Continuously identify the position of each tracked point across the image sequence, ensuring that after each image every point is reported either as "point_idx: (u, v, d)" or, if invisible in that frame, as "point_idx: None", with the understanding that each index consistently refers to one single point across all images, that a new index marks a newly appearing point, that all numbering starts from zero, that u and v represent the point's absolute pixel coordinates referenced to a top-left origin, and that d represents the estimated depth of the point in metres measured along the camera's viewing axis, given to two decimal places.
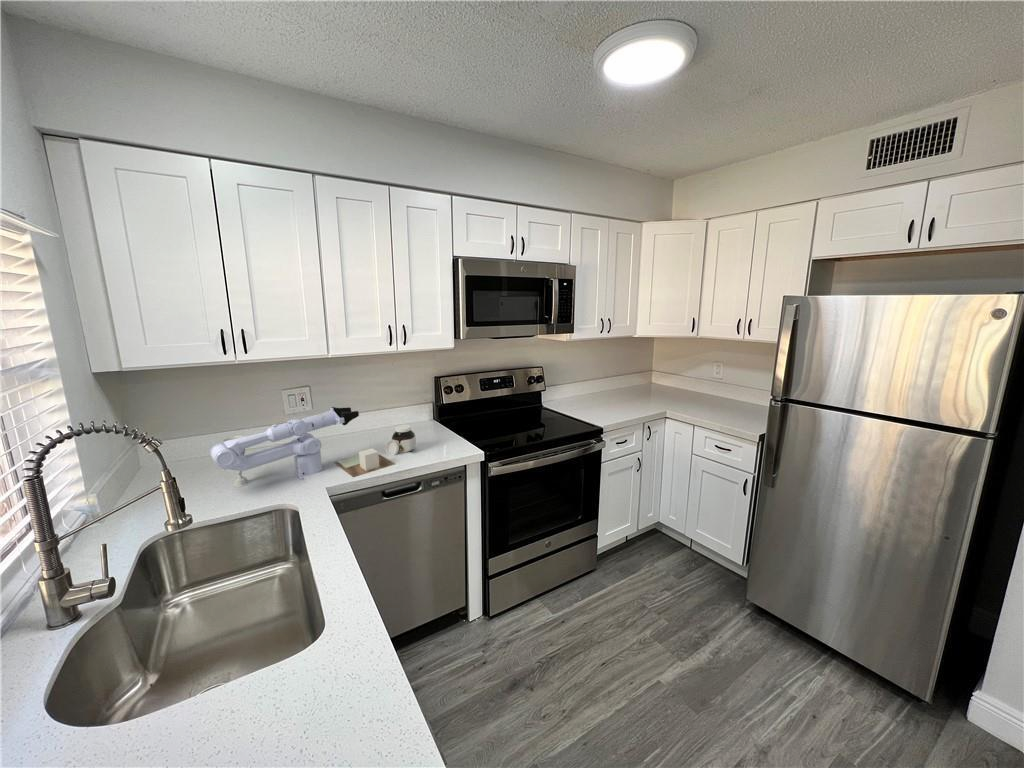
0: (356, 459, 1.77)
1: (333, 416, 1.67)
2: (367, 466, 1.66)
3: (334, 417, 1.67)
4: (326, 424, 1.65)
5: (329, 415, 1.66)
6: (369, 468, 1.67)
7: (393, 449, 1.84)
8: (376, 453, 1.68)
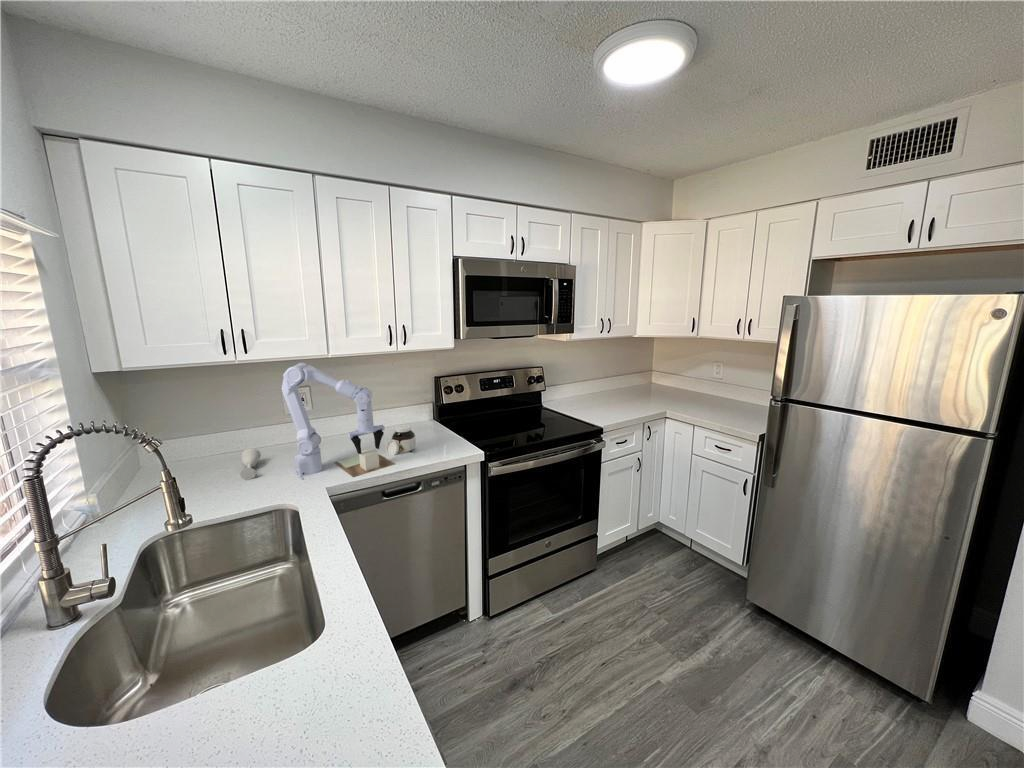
0: (356, 459, 1.77)
1: (361, 430, 1.64)
2: (367, 466, 1.66)
3: (360, 430, 1.64)
4: (358, 421, 1.65)
5: (363, 427, 1.63)
6: (369, 468, 1.67)
7: (393, 449, 1.84)
8: (376, 453, 1.68)
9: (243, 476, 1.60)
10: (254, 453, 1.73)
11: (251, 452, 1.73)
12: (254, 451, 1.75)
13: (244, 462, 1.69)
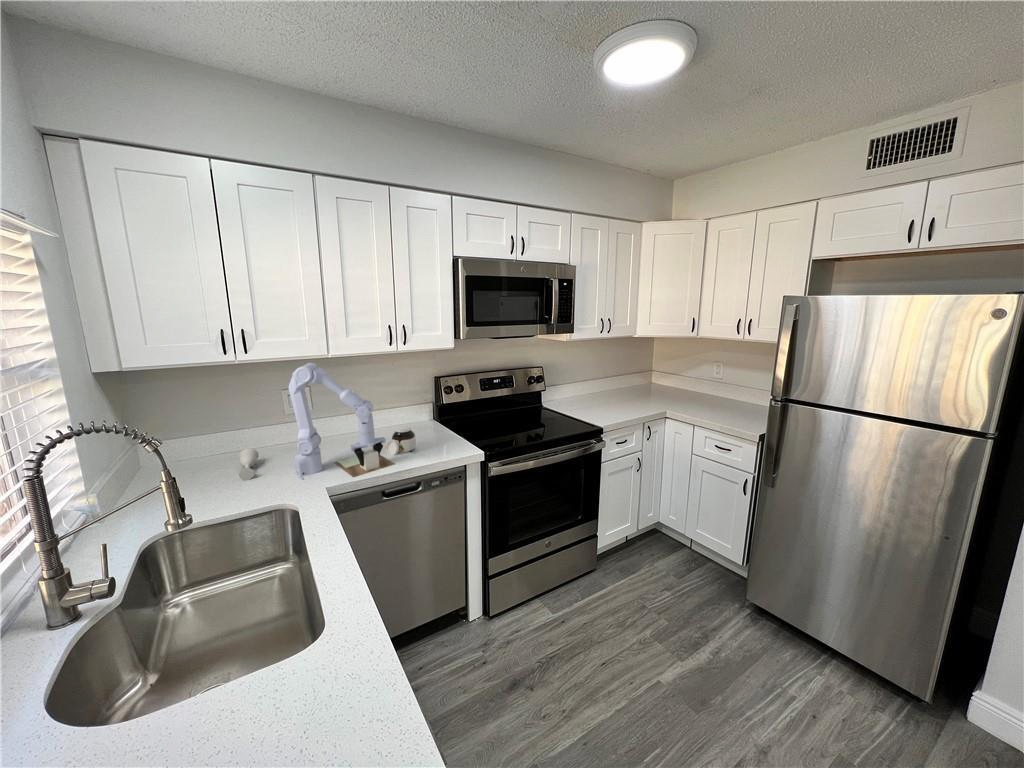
0: (356, 459, 1.77)
1: (362, 443, 1.65)
2: (367, 466, 1.66)
3: (361, 443, 1.65)
4: (359, 434, 1.66)
5: (364, 440, 1.64)
6: (369, 468, 1.67)
7: (393, 449, 1.84)
8: (376, 453, 1.68)
9: (242, 477, 1.60)
10: (250, 453, 1.72)
11: (247, 452, 1.72)
12: (251, 451, 1.74)
13: (242, 463, 1.68)
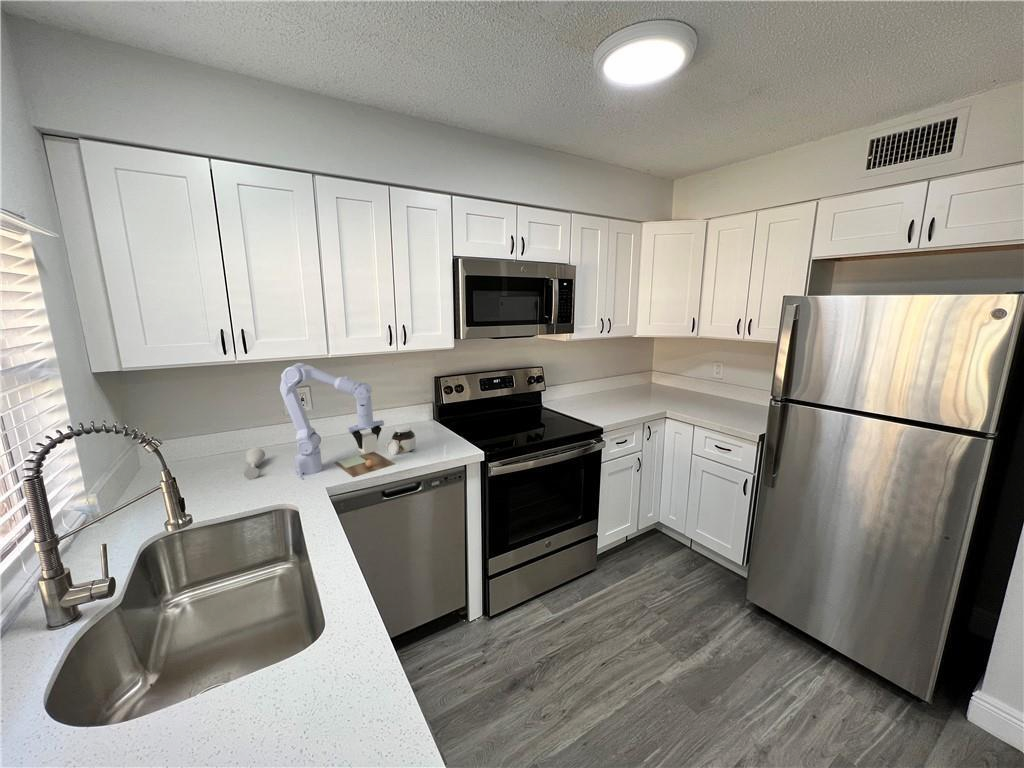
0: (356, 459, 1.77)
1: (360, 425, 1.63)
2: (365, 449, 1.64)
3: (359, 426, 1.63)
4: None
5: (362, 422, 1.63)
6: (367, 451, 1.65)
7: (393, 449, 1.84)
8: (375, 436, 1.66)
9: (246, 473, 1.61)
10: (261, 454, 1.74)
11: (259, 452, 1.74)
12: (262, 453, 1.76)
13: (249, 459, 1.69)
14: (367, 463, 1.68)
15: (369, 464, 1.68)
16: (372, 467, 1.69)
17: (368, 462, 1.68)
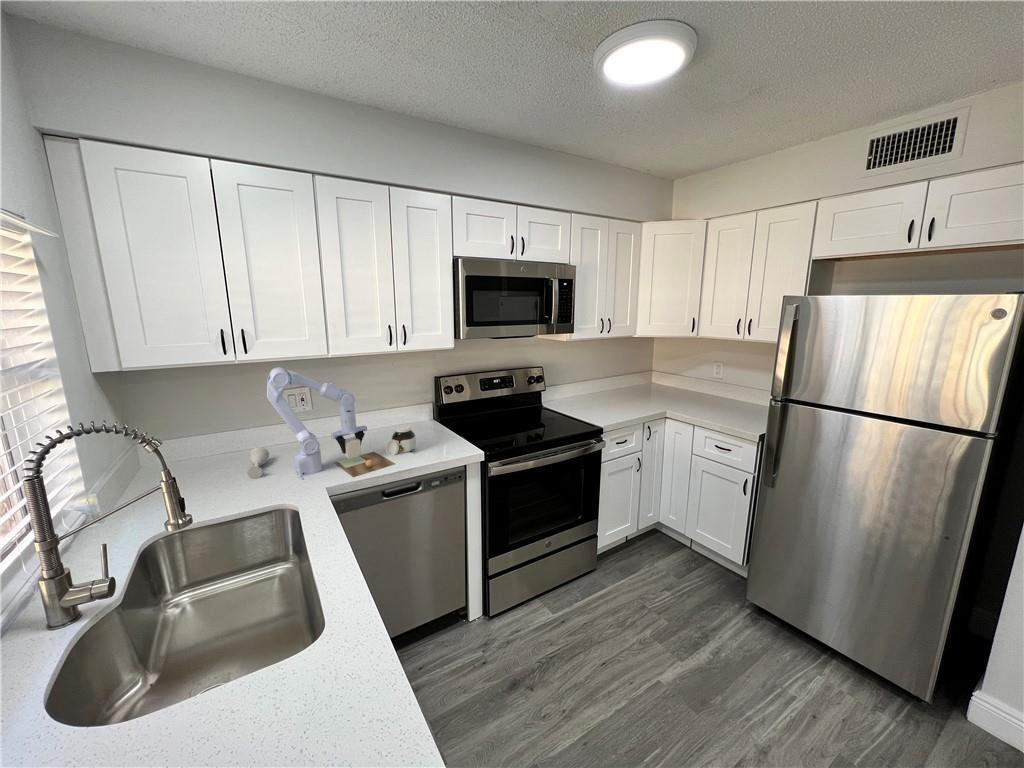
0: (356, 459, 1.77)
1: (344, 431, 1.69)
2: (349, 454, 1.70)
3: (343, 431, 1.69)
4: (341, 422, 1.70)
5: (346, 428, 1.69)
6: (351, 456, 1.71)
7: (393, 449, 1.84)
8: (358, 441, 1.72)
9: (249, 471, 1.61)
10: (266, 456, 1.75)
11: (265, 454, 1.75)
12: (267, 455, 1.77)
13: (255, 458, 1.70)
14: (367, 463, 1.68)
15: (369, 464, 1.68)
16: (372, 467, 1.69)
17: (368, 462, 1.68)
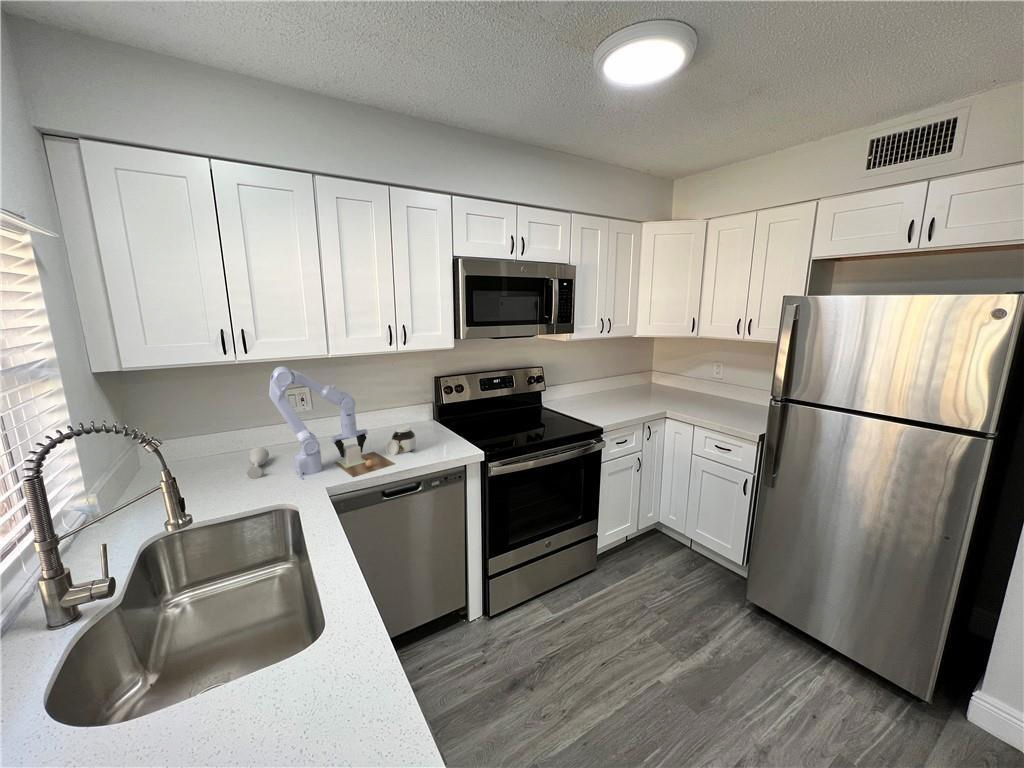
0: None
1: (344, 434, 1.69)
2: (349, 461, 1.71)
3: (343, 435, 1.70)
4: (341, 425, 1.71)
5: (346, 431, 1.69)
6: (351, 463, 1.72)
7: (393, 449, 1.84)
8: (358, 448, 1.73)
9: (249, 471, 1.61)
10: (266, 456, 1.75)
11: (265, 454, 1.75)
12: (266, 455, 1.77)
13: (255, 458, 1.70)
14: (367, 463, 1.68)
15: (369, 464, 1.68)
16: (372, 467, 1.69)
17: (368, 462, 1.68)
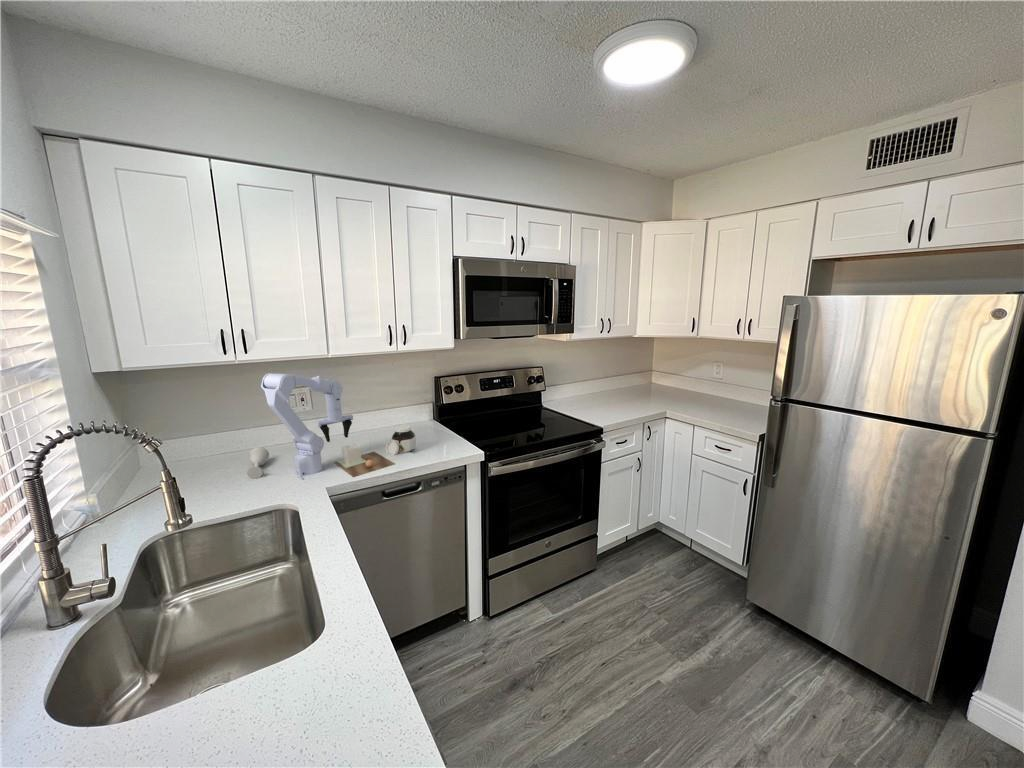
0: None
1: (329, 419, 1.73)
2: (349, 461, 1.71)
3: (329, 420, 1.74)
4: (327, 411, 1.74)
5: (331, 416, 1.73)
6: (351, 463, 1.72)
7: (393, 449, 1.84)
8: (358, 448, 1.73)
9: (249, 471, 1.61)
10: (266, 456, 1.75)
11: (265, 454, 1.75)
12: (267, 455, 1.77)
13: (255, 458, 1.70)
14: (367, 463, 1.68)
15: (369, 464, 1.68)
16: (372, 467, 1.69)
17: (368, 462, 1.68)
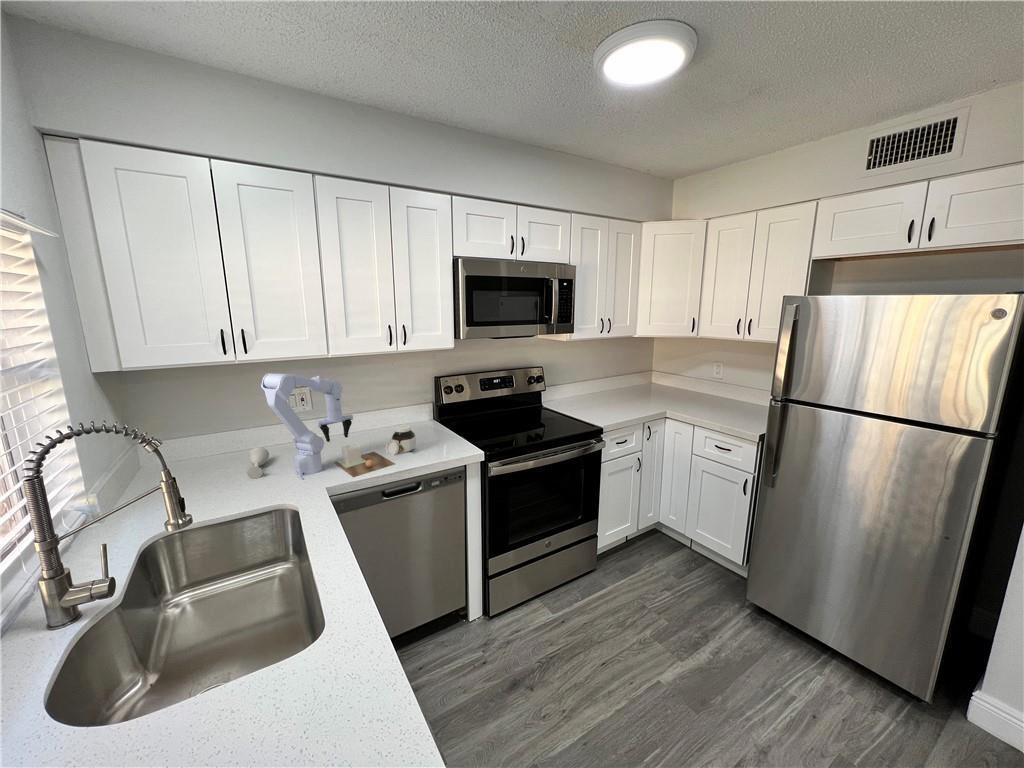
0: None
1: (329, 419, 1.73)
2: (349, 461, 1.71)
3: (329, 419, 1.74)
4: None
5: (331, 416, 1.73)
6: (351, 463, 1.72)
7: (393, 449, 1.84)
8: (358, 448, 1.73)
9: (249, 471, 1.61)
10: (266, 456, 1.75)
11: (265, 454, 1.75)
12: (267, 455, 1.77)
13: (255, 458, 1.70)
14: (367, 463, 1.68)
15: (369, 464, 1.68)
16: (372, 467, 1.69)
17: (368, 462, 1.68)
